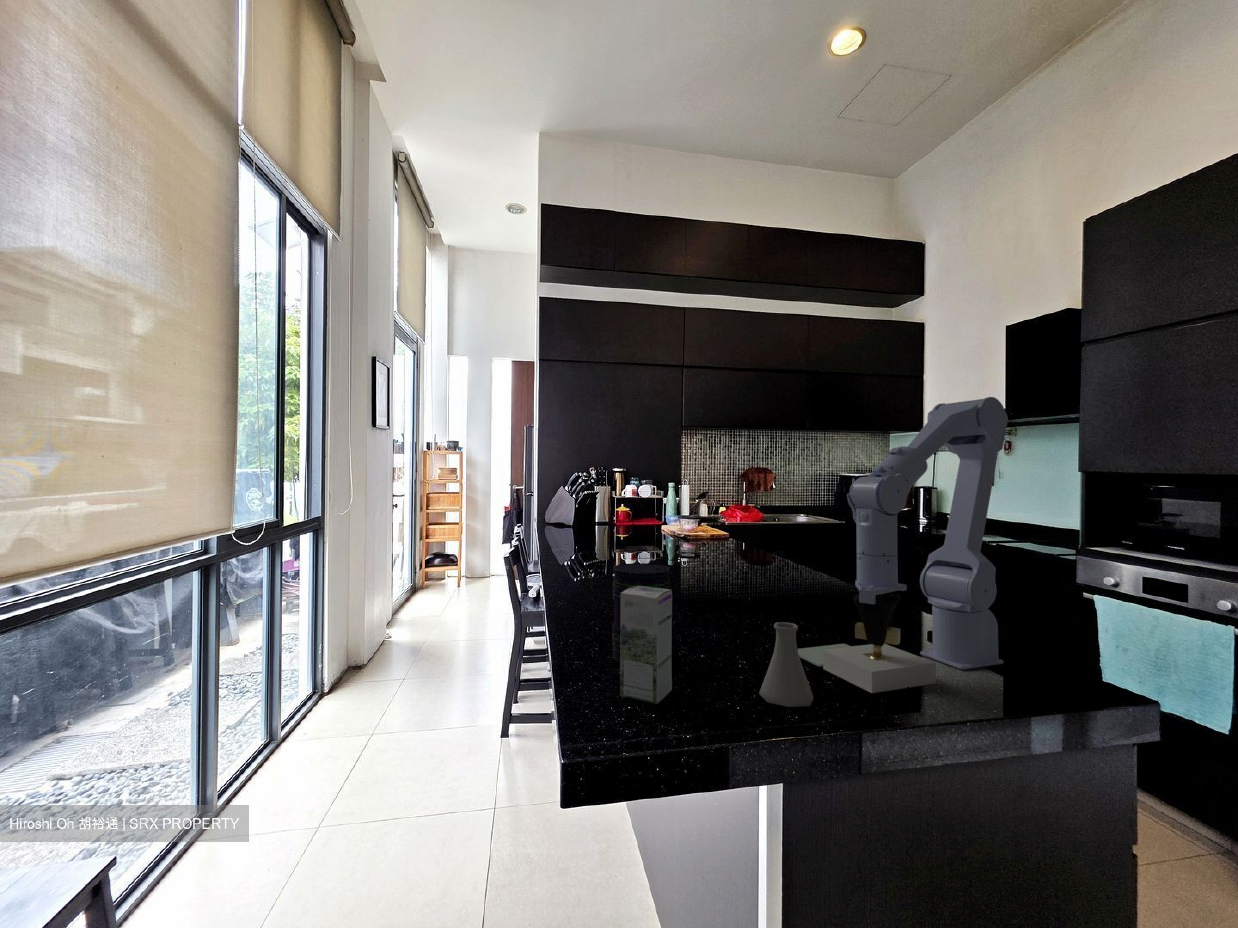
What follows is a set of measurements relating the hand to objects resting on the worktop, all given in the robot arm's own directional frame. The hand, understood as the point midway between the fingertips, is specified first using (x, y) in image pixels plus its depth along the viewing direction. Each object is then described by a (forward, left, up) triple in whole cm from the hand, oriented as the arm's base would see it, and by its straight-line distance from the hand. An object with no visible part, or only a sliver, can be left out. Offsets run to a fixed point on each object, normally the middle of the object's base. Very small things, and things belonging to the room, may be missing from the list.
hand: (877, 642), depth 81 cm
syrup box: (+37, -4, -5) cm, 37 cm away
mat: (0, -10, -5) cm, 11 cm away
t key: (0, 0, -5) cm, 5 cm away
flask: (+19, +3, -5) cm, 19 cm away
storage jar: (+32, -19, -5) cm, 37 cm away
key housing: (0, 0, -5) cm, 5 cm away
